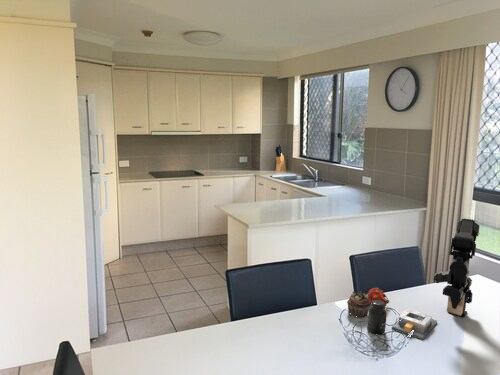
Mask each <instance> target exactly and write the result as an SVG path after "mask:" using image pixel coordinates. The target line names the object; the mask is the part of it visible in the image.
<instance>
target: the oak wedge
mask: <svg viewBox="0 0 500 375" xmlns="http://www.w3.org/2000/svg"><path fill="white" fill-rule="evenodd" d="M463 294H464V296H463V298H462V299H461V301H460V303H459V304H458V306H457V308H456V309H453V308H452V303H451V298H450V296H449V297H448V296H447V298H448V299H447V305H446V306H447V307H446V312H447V313H448V312H450V313H454V314H457V315H460V316H461V315H462V313H463V306H464V298H465V293H463ZM450 313H449V314H450ZM454 314H453V315H454ZM457 315H456V316H457ZM460 316H459V317H460Z"/></svg>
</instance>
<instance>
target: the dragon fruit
mask: <svg viewBox="0 0 500 375" xmlns="http://www.w3.org/2000/svg"><path fill="white" fill-rule="evenodd" d="M366 294H367V295H368V299H369V301H370V305H372V302H373V301H374V300H380V301H383V302H384V303H385V307H387V304H389V303H390V300H389V298H388V297H387V295H386V294H385V293H384V290H382V289H380V288H379V287H373V288H371V289H369V290H368V291H367V293H366Z"/></svg>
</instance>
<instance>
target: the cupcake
mask: <svg viewBox="0 0 500 375" xmlns="http://www.w3.org/2000/svg"><path fill="white" fill-rule="evenodd" d="M346 303H347V310H348V314H349V313H351V315H350V316H351V317H354V318H356V316H357V317H358V319H363V318H368V315H369V309H370V308H371V304H370V301H369V299H368V295H367V293H364V292H363V291H362V290H358V291H352V292H350V296H349V299H348V300H346Z"/></svg>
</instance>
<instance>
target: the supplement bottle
mask: <svg viewBox="0 0 500 375" xmlns="http://www.w3.org/2000/svg"><path fill="white" fill-rule="evenodd" d="M387 317H388V312H387V310H386V306H385V303H384V302H383V301H380V300H374V301H373V302H372V304H371V306H370V308H369V311H368V315H367V325H366V326H367V327H366V328H367V329H366V330H367V331H368V332H369V333H370V334H373V335H375V334H377V336H381V335H384V334H385V333H386V327H387V326H386V325H387ZM383 333H384V334H383Z"/></svg>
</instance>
